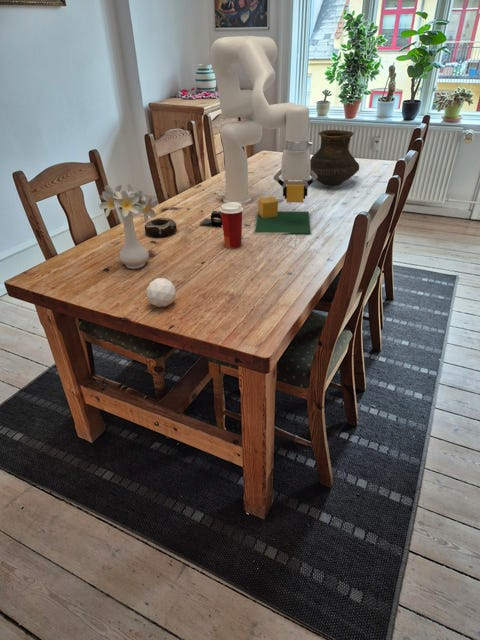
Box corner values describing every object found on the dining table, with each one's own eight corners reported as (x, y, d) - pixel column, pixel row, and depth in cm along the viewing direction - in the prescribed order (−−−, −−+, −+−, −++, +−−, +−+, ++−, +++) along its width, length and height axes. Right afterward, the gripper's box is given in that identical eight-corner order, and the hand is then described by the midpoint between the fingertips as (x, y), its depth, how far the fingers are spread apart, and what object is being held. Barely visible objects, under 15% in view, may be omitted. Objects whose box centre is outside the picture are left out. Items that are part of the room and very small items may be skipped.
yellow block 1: (262, 218, 171) (262, 203, 168) (258, 213, 176) (258, 198, 173) (277, 216, 173) (277, 201, 169) (272, 211, 177) (272, 196, 174)
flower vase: (155, 276, 135) (143, 195, 121) (102, 270, 139) (84, 191, 125) (172, 258, 145) (163, 182, 131) (122, 253, 149) (107, 179, 136)
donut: (139, 236, 162) (137, 226, 159) (155, 225, 171) (153, 215, 168) (167, 240, 158) (166, 229, 156) (182, 228, 167) (181, 217, 165)
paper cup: (247, 241, 154) (246, 202, 147) (239, 250, 148) (238, 210, 141) (226, 239, 157) (224, 200, 149) (218, 248, 151) (215, 208, 143)
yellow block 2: (286, 202, 159) (286, 185, 155) (286, 197, 164) (286, 181, 160) (303, 202, 158) (304, 185, 155) (302, 197, 163) (303, 180, 160)
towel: (254, 234, 160) (254, 232, 160) (258, 212, 178) (258, 211, 178) (310, 234, 158) (310, 232, 158) (308, 213, 177) (308, 211, 176)
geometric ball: (157, 315, 121) (135, 297, 117) (169, 293, 125) (148, 275, 121) (174, 310, 116) (152, 291, 112) (186, 287, 120) (165, 268, 116)
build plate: (235, 221, 171) (235, 210, 169) (230, 228, 165) (229, 216, 163) (205, 219, 174) (204, 207, 172) (199, 226, 168) (198, 214, 166)
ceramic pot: (366, 181, 209) (373, 131, 197) (340, 194, 194) (345, 140, 182) (322, 173, 223) (326, 125, 211) (294, 185, 208) (296, 134, 196)
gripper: (321, 143, 153) (318, 194, 163) (271, 143, 155) (271, 194, 164) (322, 147, 147) (319, 201, 157) (270, 148, 148) (270, 201, 158)
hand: (294, 197), depth 160 cm, fingers closed on yellow block 2, 6 cm apart
